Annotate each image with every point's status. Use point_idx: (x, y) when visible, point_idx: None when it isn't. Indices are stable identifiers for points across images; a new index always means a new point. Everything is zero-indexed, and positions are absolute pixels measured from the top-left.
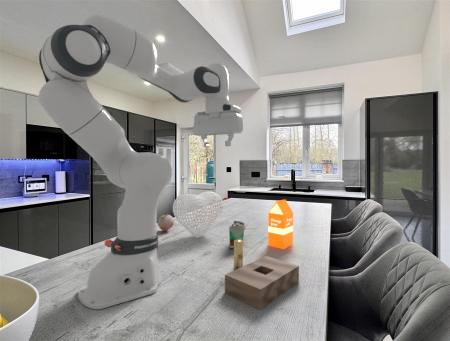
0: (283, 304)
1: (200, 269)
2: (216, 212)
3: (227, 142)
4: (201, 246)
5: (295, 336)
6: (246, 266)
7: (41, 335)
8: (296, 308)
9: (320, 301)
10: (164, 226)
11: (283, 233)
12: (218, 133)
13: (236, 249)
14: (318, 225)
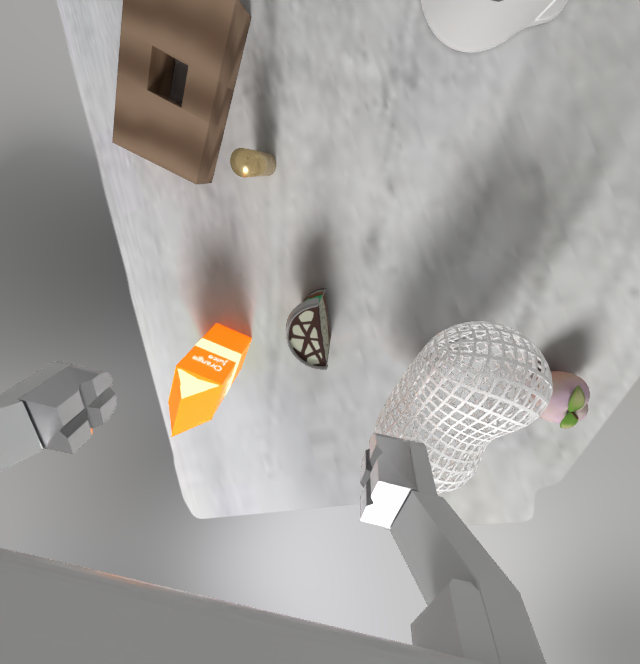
0: None
1: (351, 133)
2: (387, 403)
3: (36, 386)
4: (400, 289)
5: None
6: (210, 86)
7: None
8: (102, 8)
9: (78, 65)
10: (552, 373)
11: (200, 339)
12: (31, 555)
13: (250, 149)
14: (192, 478)
